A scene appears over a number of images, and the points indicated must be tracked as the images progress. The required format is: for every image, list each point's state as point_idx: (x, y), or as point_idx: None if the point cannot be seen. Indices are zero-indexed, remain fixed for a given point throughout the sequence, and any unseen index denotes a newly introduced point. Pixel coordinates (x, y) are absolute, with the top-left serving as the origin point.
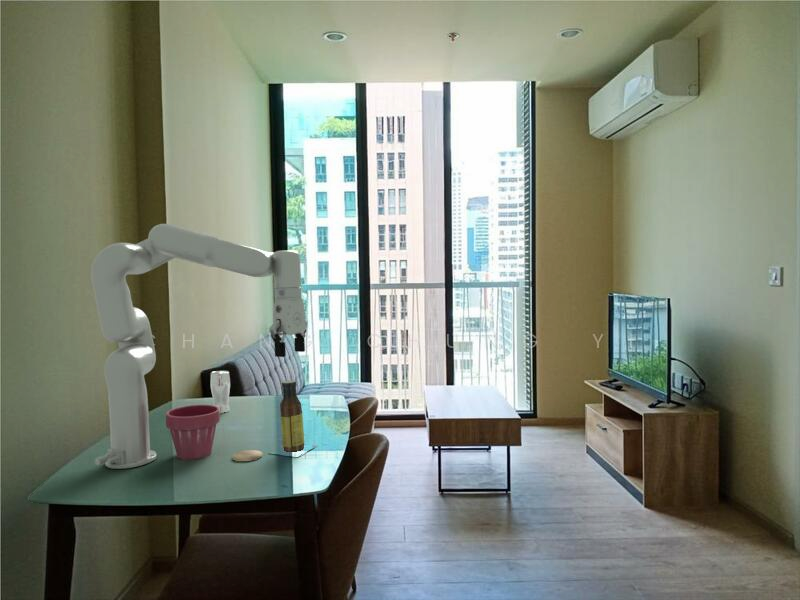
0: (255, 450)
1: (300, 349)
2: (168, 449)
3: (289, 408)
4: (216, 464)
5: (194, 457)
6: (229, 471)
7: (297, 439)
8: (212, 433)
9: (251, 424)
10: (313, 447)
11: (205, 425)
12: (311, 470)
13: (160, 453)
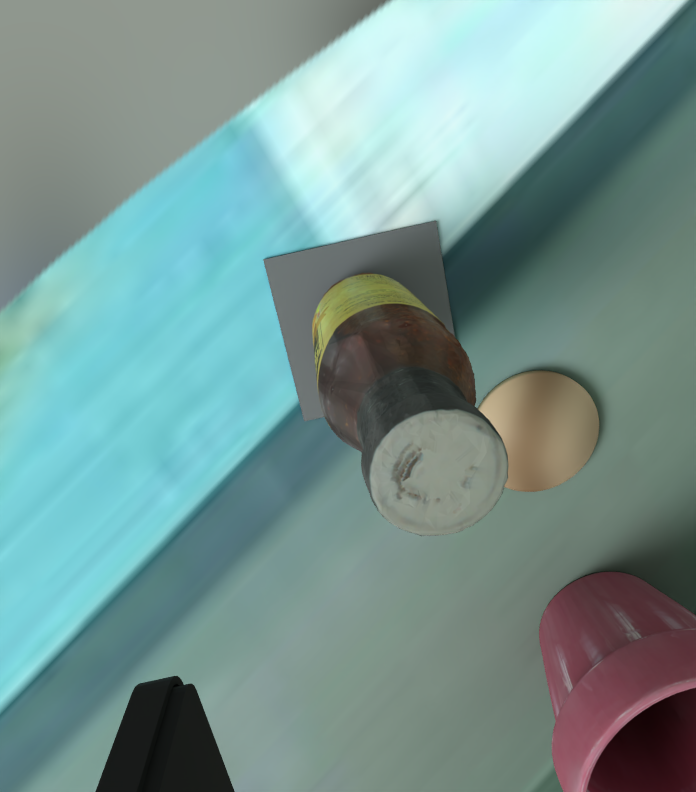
0: None
1: (204, 759)
2: None
3: (460, 345)
4: (649, 467)
5: (647, 583)
6: (690, 359)
7: (393, 282)
8: (620, 621)
9: None
10: (290, 260)
11: None
12: (537, 26)
13: None
